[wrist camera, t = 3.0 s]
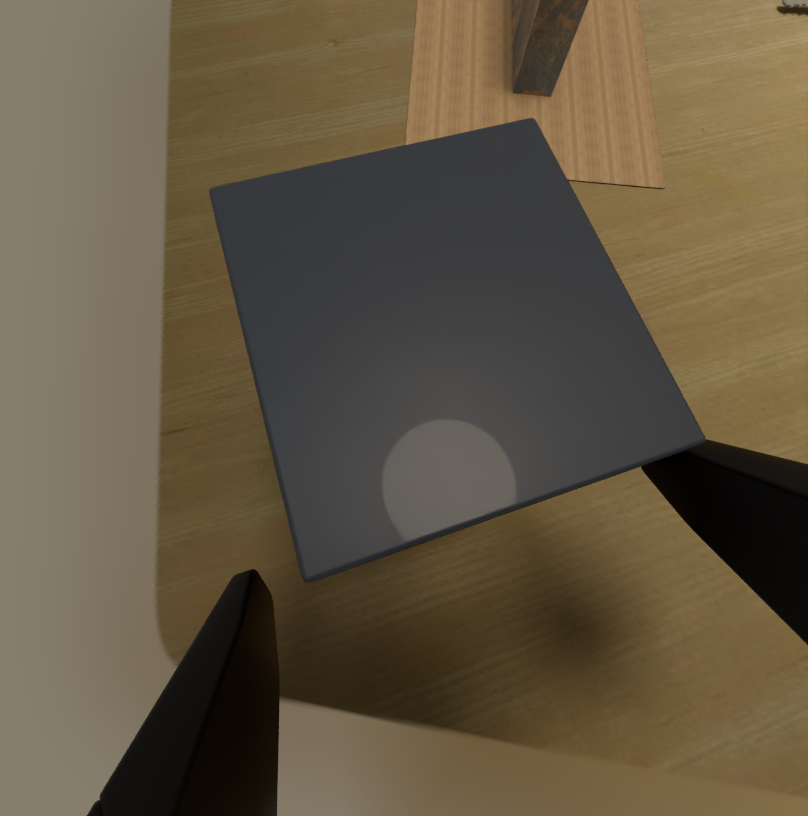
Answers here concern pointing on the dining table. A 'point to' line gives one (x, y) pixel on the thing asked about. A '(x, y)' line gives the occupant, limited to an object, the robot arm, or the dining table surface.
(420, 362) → the charcoal gray box
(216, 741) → the robot arm
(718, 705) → the dining table surface
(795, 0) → the key chain
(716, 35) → the dining table surface
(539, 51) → the architectural model on board
